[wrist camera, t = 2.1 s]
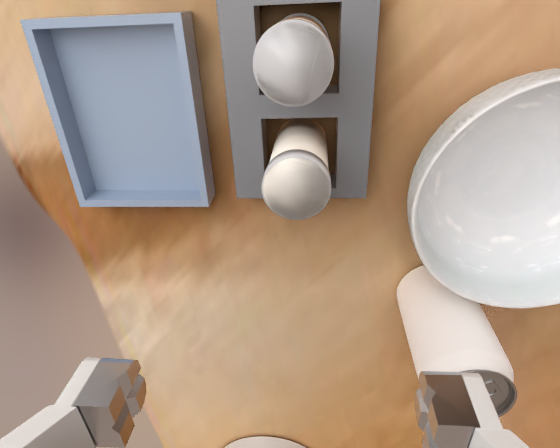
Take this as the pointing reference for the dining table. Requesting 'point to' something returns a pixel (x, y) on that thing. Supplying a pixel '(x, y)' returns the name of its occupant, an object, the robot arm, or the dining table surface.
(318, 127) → the block
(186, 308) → the dining table surface
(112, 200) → the parts tray
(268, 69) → the fuse
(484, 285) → the cereal bowl
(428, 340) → the can
